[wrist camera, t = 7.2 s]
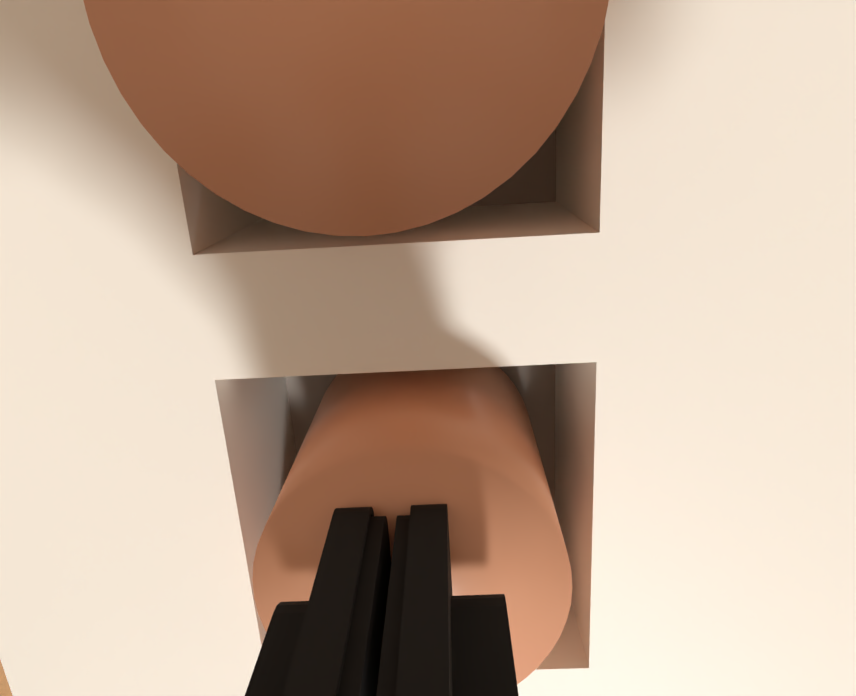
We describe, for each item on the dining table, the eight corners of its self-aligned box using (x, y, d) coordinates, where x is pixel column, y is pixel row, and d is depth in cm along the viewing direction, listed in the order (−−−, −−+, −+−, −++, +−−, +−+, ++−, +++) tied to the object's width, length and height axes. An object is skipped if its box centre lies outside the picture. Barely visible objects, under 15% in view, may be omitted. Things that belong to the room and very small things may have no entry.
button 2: (537, -153, 10) (626, -416, 5) (539, 180, 11) (606, 222, 7) (217, -128, 10) (9, -356, 5) (262, 197, 11) (132, 249, 7)
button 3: (529, 332, 14) (574, 441, 9) (532, 528, 15) (570, 710, 11) (302, 343, 14) (229, 456, 9) (327, 536, 15) (275, 717, 11)
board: (907, -915, 9) (1394, -2010, 4) (743, 541, 17) (860, 703, 12) (-186, -776, 10) (-764, -1599, 5) (135, 562, 18) (22, 723, 13)
